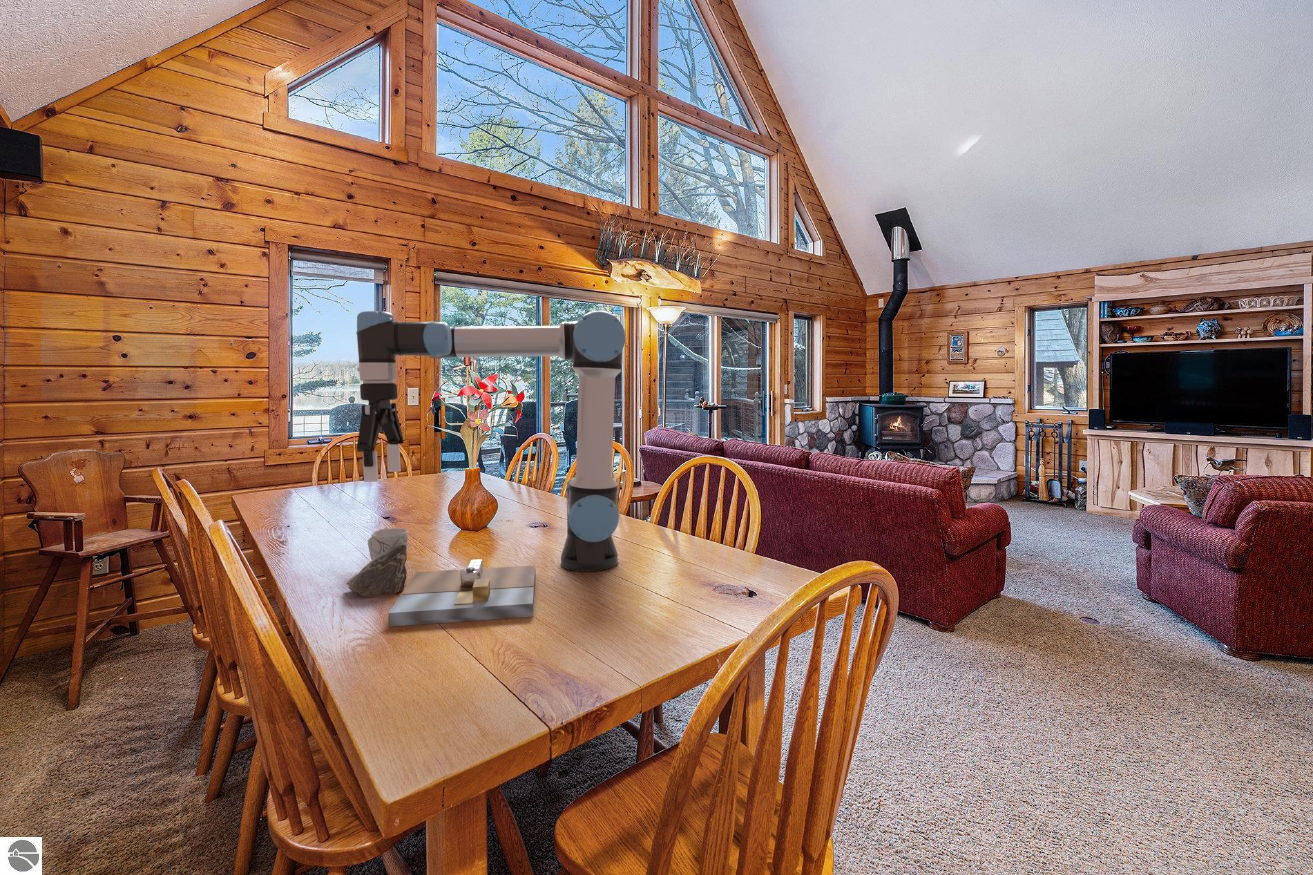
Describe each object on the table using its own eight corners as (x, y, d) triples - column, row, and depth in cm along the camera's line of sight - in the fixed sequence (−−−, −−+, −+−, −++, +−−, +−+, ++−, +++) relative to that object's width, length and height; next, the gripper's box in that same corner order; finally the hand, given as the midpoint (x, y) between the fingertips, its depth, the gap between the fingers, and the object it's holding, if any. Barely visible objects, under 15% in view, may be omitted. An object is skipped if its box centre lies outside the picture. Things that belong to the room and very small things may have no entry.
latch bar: (479, 586, 131) (479, 571, 131) (459, 587, 130) (458, 572, 130) (486, 566, 145) (485, 553, 144) (467, 568, 144) (467, 554, 144)
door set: (535, 576, 147) (535, 553, 146) (532, 616, 122) (532, 588, 121) (417, 583, 142) (416, 559, 141) (388, 626, 117) (387, 597, 116)
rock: (345, 592, 130) (371, 526, 135) (342, 591, 136) (367, 528, 142) (401, 604, 135) (423, 541, 140) (395, 603, 142) (417, 542, 147)
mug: (356, 571, 151) (355, 533, 150) (383, 562, 159) (381, 525, 158) (390, 577, 146) (389, 537, 146) (416, 567, 154) (414, 529, 153)
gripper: (382, 382, 144) (387, 468, 146) (335, 382, 119) (341, 486, 121) (414, 382, 144) (418, 467, 146) (373, 382, 120) (378, 485, 122)
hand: (383, 476), depth 134 cm, fingers open, 13 cm apart
